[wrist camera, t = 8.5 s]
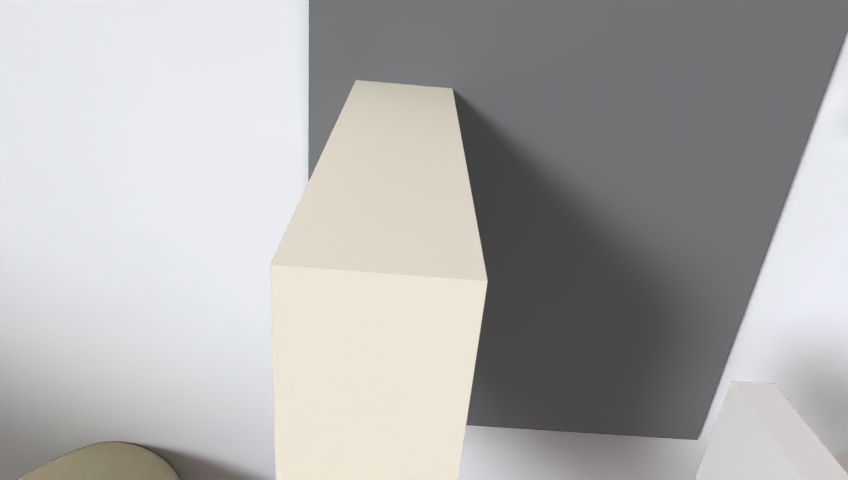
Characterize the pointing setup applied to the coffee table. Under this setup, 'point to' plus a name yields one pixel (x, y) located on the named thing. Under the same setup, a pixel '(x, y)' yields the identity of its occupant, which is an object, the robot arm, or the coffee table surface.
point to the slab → (379, 296)
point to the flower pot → (105, 464)
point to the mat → (602, 181)
